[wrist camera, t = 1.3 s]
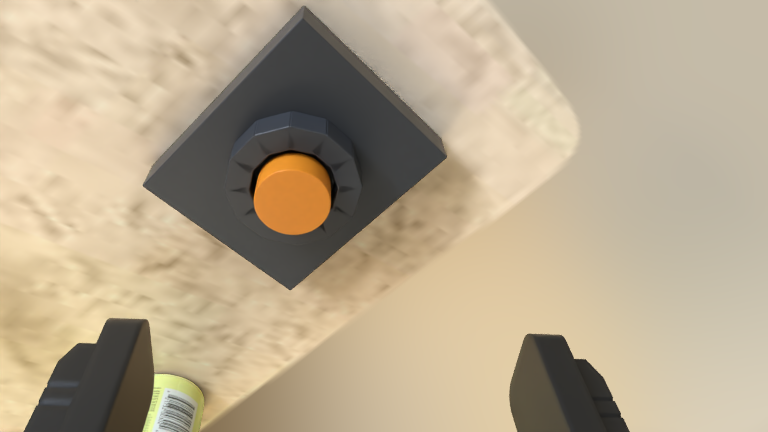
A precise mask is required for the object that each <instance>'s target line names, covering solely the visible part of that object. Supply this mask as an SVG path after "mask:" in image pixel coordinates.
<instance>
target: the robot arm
mask: <svg viewBox="0 0 768 432" xmlns="http://www.w3.org/2000/svg"><path fill="white" fill-rule="evenodd" d="M47 384H48V385H47V388H45V389H44V391H43V393H42V395H41V397H40V400H39V404H38V406H36V408H35V410H34V412H33V414H32V416H31V418H30V420H29V422H28V424H27V426H26V428H25V430H24V432H143V428H144V425H145V422H146V418H147V415H148V412H149V408H150V405H151V401H152V396H153V390H154V365H153V356H152V346H151V336H150V327H149V322H148V320H146V319H118V318H109V319H108V320H107V321H106V323H105V325H104V327H103V329H102V332H101V334H100V336H99V339H98V341H97V343H96V344H90V343H78V344H77V345H76V346H75V347H73V348H72V349H71V350H70V351H69V352H68V353H67V354H66V355H65V356H64V357H63V358H61V359H60V360H59V361H58V363H57V365H56V367H55V369H54V371H53V373H52V375H51V377H50V379H49V381H48V383H47ZM509 396H510V407H511V412H512V415H513V418H514V422H515V425H516V428H517V432H630V431H629V430H628V427H627V425H626V423H625V421H624V419H623V418H621V413H620V411H619V409H618V407H617V405H616V403H615V401H613V397H612V395H611V392H610V390H609V389H608V387H607V384H606V382H605V380H604V378H603V377H602V376H601V375H600V374H599V373H598V372H597V371H596V370H595V369H594V368H593V367H592V366H591V364H590V363H588V362H587V360H586V359H585V360H584V359H574V357H573V355H572V353H571V351H570V348H569V346H568V344H567V342H566V340H565V338H564V337H563V336H562V335H547V334H527V335H526V336H525V338H524V341H523V344H522V347H521V350H520V353H519V357H518V360H517V363H516V367H515V370H514V373H513V377H512V380H511V384H510V394H509Z"/></svg>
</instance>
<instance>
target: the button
mask: <svg viewBox="0 0 768 432" xmlns="http://www.w3.org/2000/svg"><path fill="white" fill-rule="evenodd" d="M254 208H255V211H256V213H257V215H258V217H259V218H260V220H261V221H262V222H263V223H264V224H265V225H266V226H268V227H269V228H271V229H272V230H274V231H277V232H279V233H283V234H288V235H299V234H304V233H308V232H310V231H313V230H314V229H316V228H318V227H319V226H320V225H321V224H322V223H323V222H324V221H325V220H326V218H327V216H328V215H329V212H330V208H331V180H330V177H329V174H328V172H327V170H326V169H325V168H324V166H323V165H322V164H321V163H320V162H318V161H317V160H316V159H314V158H312V157H310V156H308V155H305V154H301V153H285V154H281V155H278V156H276V157H274V158H272V159H270V160H269V161H268V162H267V163H266V164H265V165H264V166H263V167H262V169H261V170H260V172H259V175H258V179H257V184H256V189H255V194H254Z"/></svg>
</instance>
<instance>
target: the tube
mask: <svg viewBox="0 0 768 432" xmlns="http://www.w3.org/2000/svg"><path fill="white" fill-rule="evenodd" d="M203 408H204V397H203V394H202V392H201V390H200V389H199V388H198V387H197V386H196V385H195V384H194V383H192V382H191V381H189V380H187V379H185V378H182V377H179V376H175V375H169V374H155V375H154V390H153V396H152V401H151V405H150V408H149V412H148V415H147V418H146V422H145V425H144V428H143V432H199V429H200V424H201V419H202V414H203Z"/></svg>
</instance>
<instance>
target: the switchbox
mask: <svg viewBox="0 0 768 432" xmlns="http://www.w3.org/2000/svg"><path fill="white" fill-rule="evenodd" d="M285 153H301V154H305V155H308V156H310V157H312V158H314V159H316V160H317V161H318V162H320V163H321V164H322V165H323V166H324V168H325V169H326V170H327V172H328V174H329V177H330V180H331V208H330V212H329V215H328V216H327V218H326V220H325V221H324V222H323V223H322V224H321V225H320V226H319V227H318V228H316V229H314V230H313V231H310V232H308V233H304V234H299V235H288V234H283V233H279V232H277V231H274V230H272V229H271V228H269V227H268V226H266V225H265V224H264V223H263V222H262V221H261V220H260V218H259V217H258V215H257V213H256V211H255V208H254V194H255V189H256V184H257V179H258V175H259V172H260V170H261V169H262V167H263V166H264V165H265V164H266V163H267V162H268V161H269V160H270V159H272V158H274V157H276V156H278V155H281V154H285ZM446 158H447V155H446V152H445V149H444V146H443V143H442V140H441V138H440V137H439V136H438V135H437V134H436V133H435V132H434V131H433V130H432V129H431V128H430V127H429V126H428V125H427V124H426V123H425V122H424V121H423V120H422V119H421V118H420V117H419V116H417V115H416V114H415V113H414V112H413V111H412V110H411V109H410V108H409V107H408V106H407V105H406V104H405V103H404V102H403V101H402V100H401V99H400V98H399V97H398V96H397V95H396V94H395V93H394V92H393V91H392V90H391V89H390V88H389V87H388V86H387V85H386V84H385V83H384V82H383V81H381V80H380V79H379V78H378V77H377V76H376V75H375V74H374V73H373V72H372V71H371V70H370V69H369V68H368V67H367V66H366V65H365V64H364V63H363V62H362V61H361V60H360V59H359V58H358V57H357V56H356V55H355V54H354V53H353V52H352V51H351V50H350V49H349V48H348V47H347V46H345V45H344V44H343V43H342V42H341V41H340V40H339V39H338V38H337V37H336V36H335V35H334V34H333V33H332V32H331V31H330V30H329V29H328V28H327V27H326V26H325V25H324V24H323V23H322V22H321V21H320V20H319V19H318V18H317V17H316V16H315V15H314V14H313V13H312V12H311V11H309V10H308V9H307V8H306V7H305V6H303V7H302V8H301V9H300V10H299V11H298V12H297V13H296V14H295V15H294V16H293V17H292V18H291V19H290V21H289V22H288V23H287V24H286V25H285V26H284V27H283V28H282V29H281V30H280V31H279V32H278V33H277V34H276V35H275V36H274V37H273V39H272V40H271V41H270V42H269V43H268V44H267V45H266V46H265V47H264V48H263V49H262V50H261V51H260V52H259V53H258V54H257V55H256V57H255V58H254V59H253V60H252V61H251V62H250V63H249V64H248V65H247V66H246V67H245V68H244V69H243V70H242V71H241V72H240V73H239V75H238V76H237V77H236V78H235V79H234V80H233V81H232V82H231V83H230V84H229V85H228V86H227V87H226V88H225V89H224V90H223V91H222V93H221V94H220V95H219V96H218V97H217V98H216V99H215V100H214V101H213V102H212V103H211V104H210V105H209V106H208V107H207V108H206V109H205V110H204V112H203V113H202V114H201V115H200V116H199V117H198V118H197V119H196V120H195V121H194V122H193V123H192V124H191V125H190V126H189V127H188V128H187V130H186V131H185V132H184V133H183V134H182V135H181V136H180V137H179V138H178V139H177V140H176V141H175V142H174V143H173V144H172V145H171V146H170V148H169V149H168V150H167V151H166V152H165V153H164V154H163V155H162V156H161V157H160V158H159V159H158V160H157V161H156V162H155V163H154V164H153V166H152V168H151V170H150V172H149V174H148V176H147V178H146V180H145V182H144V184H143V187H145V188H146V189H147V190H149V191H150V192H152V193H153V194H154V195H156V196H157V197H159V198H160V199H162V200H163V201H164V202H166V203H167V204H169V205H170V206H171V207H173V208H174V209H176V210H177V211H179V212H180V213H181V214H183V215H184V216H186V217H187V218H188V219H190V220H191V221H193V222H194V223H195V224H197V225H198V226H200V227H201V228H203V229H204V230H205V231H207V232H208V233H210V234H211V235H212V236H214V237H215V238H217V239H218V240H220V241H221V242H222V243H224V244H225V245H227V246H228V247H229V248H231V249H232V250H234V251H235V252H237V253H238V254H239V255H241V256H242V257H244V258H245V259H246V260H248V261H249V262H251V263H252V264H254V265H255V266H256V267H258V268H259V269H261V270H262V271H263V272H265V273H266V274H268V275H269V276H270V277H272V278H273V279H275V280H276V281H278V282H279V283H280V284H282V285H283V286H285V287H286V288H287V289H289V290H292V289H293V288H294V287H295V286H296V285H297V284H299V283H300V282H301V281H302V280H303V279H305V278H306V277H307V276H308V275H309V274H310V273H312V272H313V271H314V270H315V269H316V268H317V267H319V266H320V265H321V264H322V263H323V262H325V261H326V260H327V259H328V258H329V257H330V256H332V255H333V254H334V253H335V252H336V251H337V250H339V249H340V248H341V247H342V246H343V245H344V244H346V243H347V242H348V241H349V240H350V239H352V238H353V237H354V236H355V235H356V234H357V233H359V232H360V231H361V230H362V229H363V228H364V227H366V226H367V225H368V224H369V223H370V222H372V221H373V220H374V219H375V218H376V217H377V216H379V215H380V214H381V213H382V212H383V211H384V210H386V209H387V208H388V207H389V206H390V205H392V204H393V203H394V202H395V201H396V200H397V199H399V198H400V197H401V196H402V195H403V194H404V193H406V192H407V191H408V190H409V189H410V188H412V187H413V186H414V185H415V184H416V183H417V182H419V181H420V180H421V179H422V178H423V177H424V176H426V175H427V174H428V173H429V172H430V171H432V170H433V169H434V168H435V167H436V166H437V165H439V164H440V163H441V162H442V161H443V160H444V159H446Z"/></svg>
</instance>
